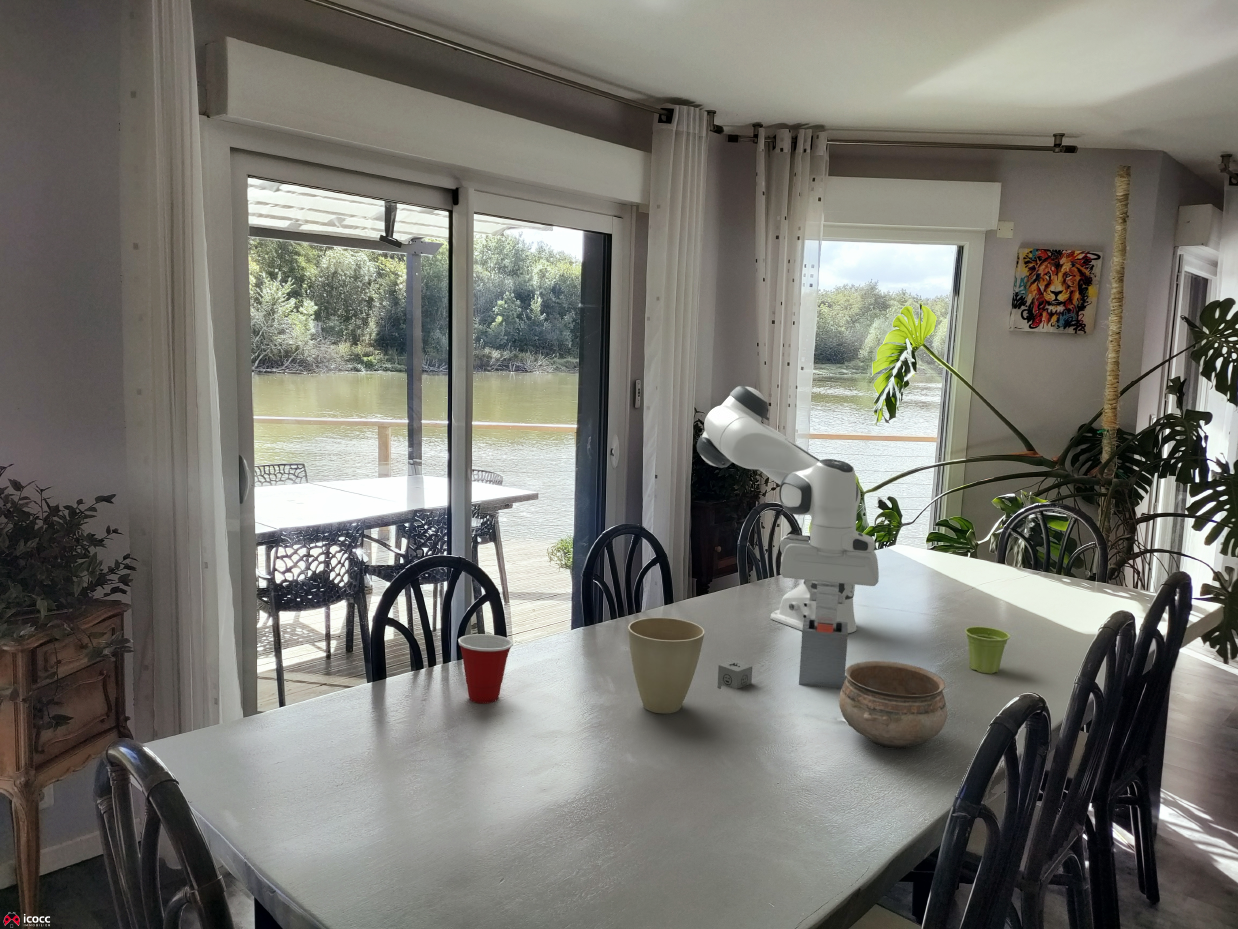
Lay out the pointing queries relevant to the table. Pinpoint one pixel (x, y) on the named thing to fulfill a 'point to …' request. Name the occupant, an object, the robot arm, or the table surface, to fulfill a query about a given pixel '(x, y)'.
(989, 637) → the plant pot
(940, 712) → the cooking pot
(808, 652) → the sleeve
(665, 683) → the plant pot
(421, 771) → the table surface
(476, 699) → the plastic cup
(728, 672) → the dice cube
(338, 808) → the table surface
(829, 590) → the column
